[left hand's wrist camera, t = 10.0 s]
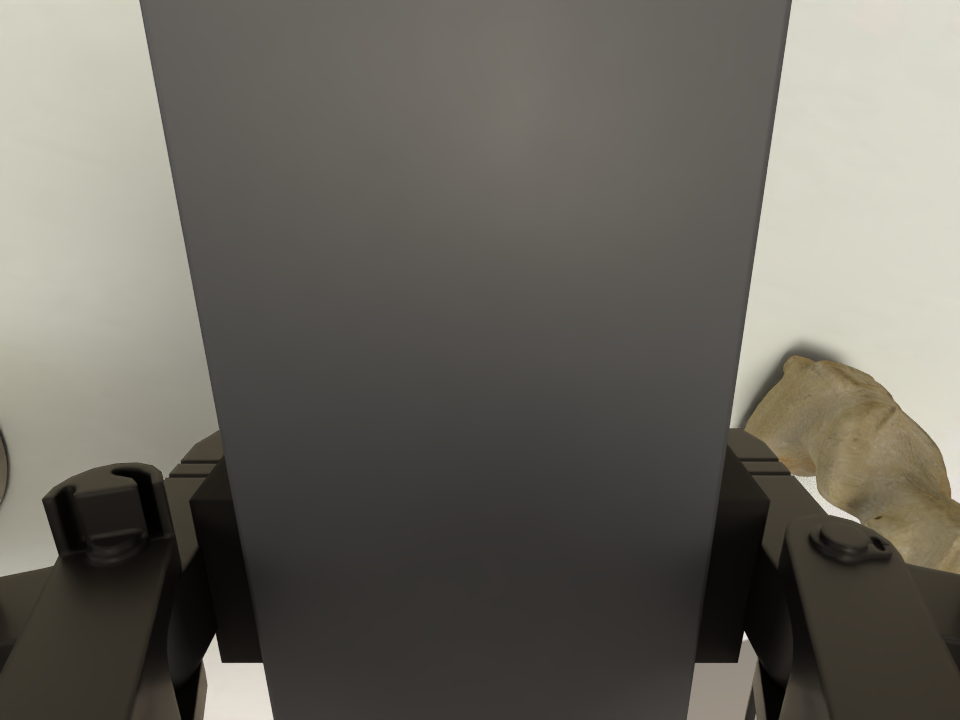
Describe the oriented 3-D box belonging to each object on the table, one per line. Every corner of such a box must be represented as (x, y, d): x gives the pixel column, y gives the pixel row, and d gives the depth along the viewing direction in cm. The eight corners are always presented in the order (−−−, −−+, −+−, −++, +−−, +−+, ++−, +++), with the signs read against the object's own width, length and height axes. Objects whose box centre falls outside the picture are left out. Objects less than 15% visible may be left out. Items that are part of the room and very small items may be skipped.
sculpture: (715, 436, 37) (860, 632, 23) (779, 330, 34) (986, 477, 20) (799, 467, 38) (988, 675, 24) (867, 366, 35) (1124, 530, 21)
